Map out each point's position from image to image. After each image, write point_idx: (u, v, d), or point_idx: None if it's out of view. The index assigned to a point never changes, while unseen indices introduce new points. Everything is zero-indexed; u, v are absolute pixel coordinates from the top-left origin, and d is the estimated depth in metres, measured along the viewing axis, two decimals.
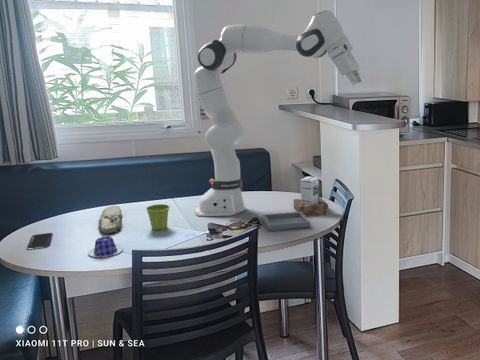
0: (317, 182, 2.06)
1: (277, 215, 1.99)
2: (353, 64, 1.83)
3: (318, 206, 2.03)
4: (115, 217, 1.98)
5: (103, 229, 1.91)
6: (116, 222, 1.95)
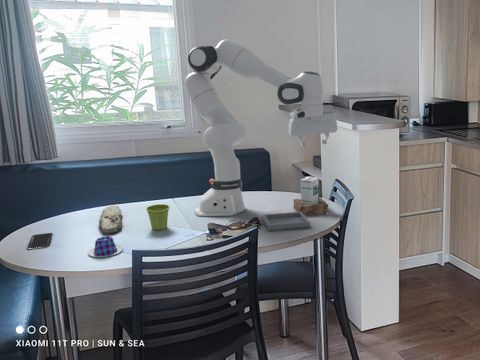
0: (317, 182, 2.06)
1: (277, 215, 1.99)
2: (315, 128, 1.99)
3: (318, 206, 2.03)
4: (116, 217, 1.98)
5: (104, 229, 1.91)
6: (117, 222, 1.95)
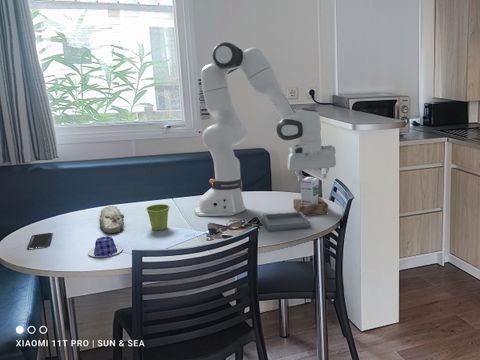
0: (317, 182, 2.06)
1: (277, 215, 1.99)
2: (314, 163, 2.03)
3: (318, 206, 2.03)
4: (117, 217, 1.98)
5: (107, 229, 1.92)
6: (119, 222, 1.95)
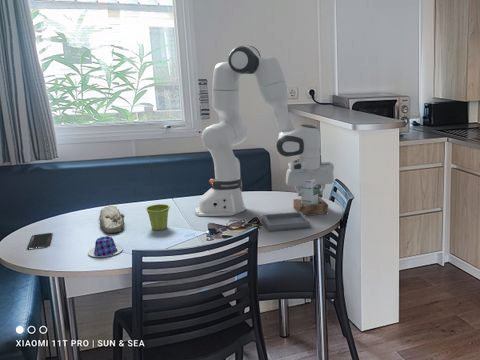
0: None
1: (277, 215, 1.99)
2: None
3: (318, 206, 2.03)
4: (118, 216, 1.98)
5: (107, 229, 1.92)
6: (120, 221, 1.95)
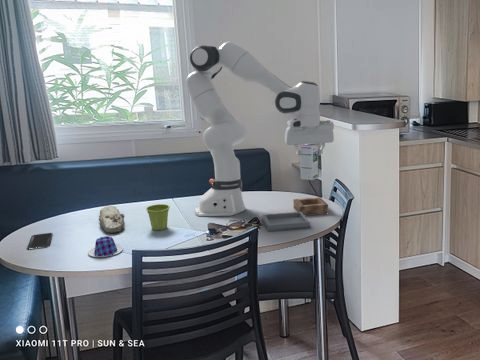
0: (317, 149, 2.03)
1: (277, 215, 1.99)
2: (311, 138, 2.01)
3: (318, 206, 2.03)
4: (118, 216, 1.98)
5: (108, 228, 1.92)
6: (120, 221, 1.96)
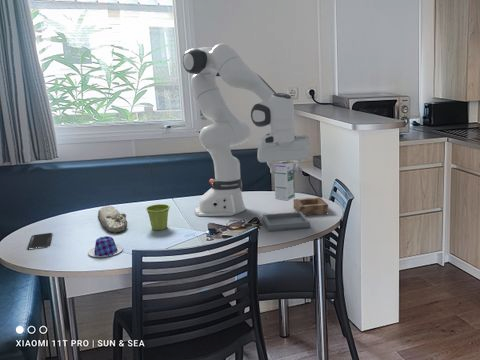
0: (292, 167, 1.88)
1: (277, 215, 1.99)
2: (286, 155, 1.86)
3: (318, 206, 2.03)
4: (120, 216, 1.99)
5: (112, 228, 1.92)
6: (123, 221, 1.96)
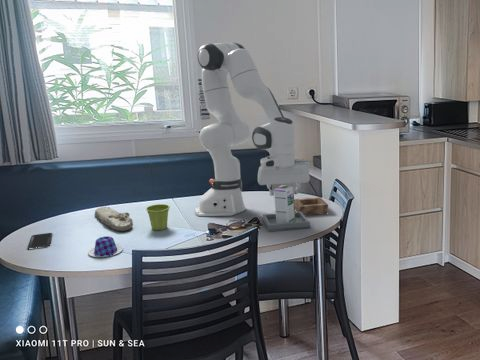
0: (292, 191, 1.90)
1: None
2: (285, 178, 1.88)
3: (318, 206, 2.03)
4: (125, 215, 2.00)
5: (119, 227, 1.93)
6: (128, 219, 1.98)
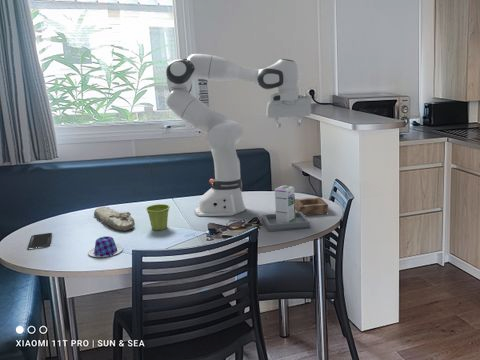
0: (293, 191, 1.90)
1: None
2: (290, 111, 2.18)
3: (318, 206, 2.03)
4: (126, 214, 2.00)
5: (121, 226, 1.93)
6: (130, 219, 1.98)
